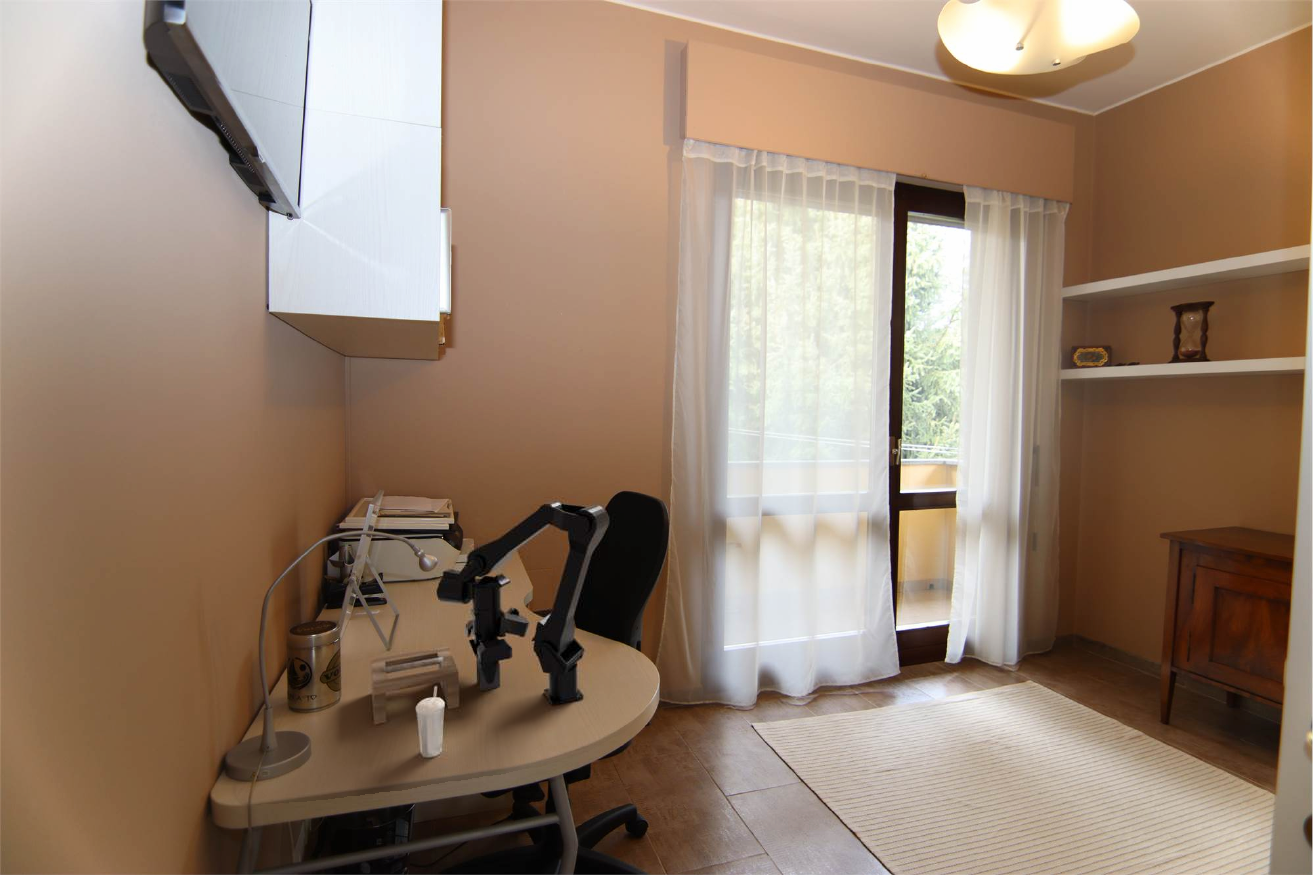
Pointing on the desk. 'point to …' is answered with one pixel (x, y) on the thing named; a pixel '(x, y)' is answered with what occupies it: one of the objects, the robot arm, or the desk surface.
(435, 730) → the milkshake
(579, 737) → the desk surface
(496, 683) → the grey slotted box
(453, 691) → the shelf
